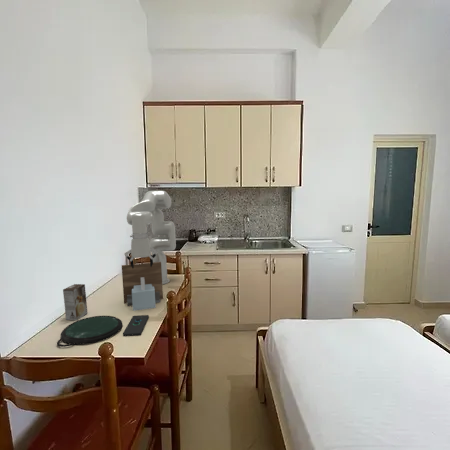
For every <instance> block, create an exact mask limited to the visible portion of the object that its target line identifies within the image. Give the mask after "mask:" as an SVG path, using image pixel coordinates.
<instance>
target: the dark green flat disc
mask: <svg viewBox="0 0 450 450" xmlns="http://www.w3.org/2000/svg"><path fill="white" fill-rule="evenodd" d="M122 328H123V321H122V319H120V318H118V317H116V316H114V315H113V316H112V315H94V316H89V317H85V318H82V319H81V318H80V319H78V320H75V321H73V322H72V323H70V324H68V325H67V326H66V327H65V328H63V330H62V331H61V333H60V338H59V339H58V340H57V342H56V345H57V346H58V347H61V348H62V347H63V348H66V347H71V346H73V345H89V344H94V343H98V342H102V341H105V340H107V339H109V338H112V337H114V336H115V335H117V334H118V333H119V332H120V331H121V330H122ZM61 341H63V342H64V343H67V344H61V343H60V342H61Z"/></svg>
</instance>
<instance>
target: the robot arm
mask: <svg viewBox="0 0 450 450" xmlns="http://www.w3.org/2000/svg"><path fill="white" fill-rule="evenodd" d="M171 206H172V198H171V196H170V195H169V194H168V192H167V191H166V190H149V191H147V192H145V193H144V195H143V198H142V200H141V201H139V202H138V203H136V204H134V205H133V206H131V207H130V208H129V210H128V212H127V215H126V222H127V224H128V225H130V226H131V228H132V230H131V231H132V234H129V237H130V238H131V242H130V249H129V250H128V251H126V252H124V256H125V258H126V259H127V260H128V261H129V262H130V264H131V267H132V269H133V268H134V264H135V263H134V259H138V258H148V257H149V263H150V266H151V267H152V265H153V262H161V269H162V285H166V284H168V282H171V280H170V278H168V267H167V255H166V254H165V253H164V252H173V251H175V250H176V247H177V244H176V243H177V240H176V225H175V223H174V222H173V221H171V220H166V221H165V217H164V215H165V214H164V212H163V211H162V209H163V210H164V209H166V210H167V209H170V208H171ZM148 225H151V233H152V235H153V236H155V237H152V238H151V239H150V238H149V237H148V229H147V228H148V227H147V226H148ZM156 236H158V237H156ZM160 236H161V237H160ZM129 254H130V255H131V256H130V255H129Z"/></svg>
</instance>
